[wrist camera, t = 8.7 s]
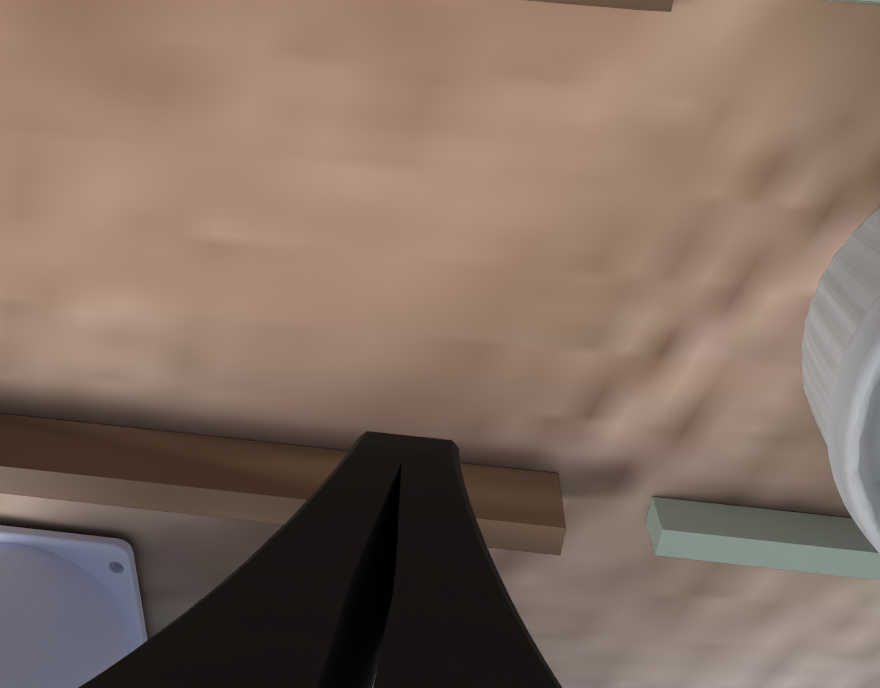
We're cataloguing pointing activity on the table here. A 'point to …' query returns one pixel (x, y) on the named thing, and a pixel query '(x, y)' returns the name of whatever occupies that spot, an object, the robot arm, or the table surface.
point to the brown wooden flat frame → (250, 465)
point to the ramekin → (849, 372)
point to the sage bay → (762, 532)
